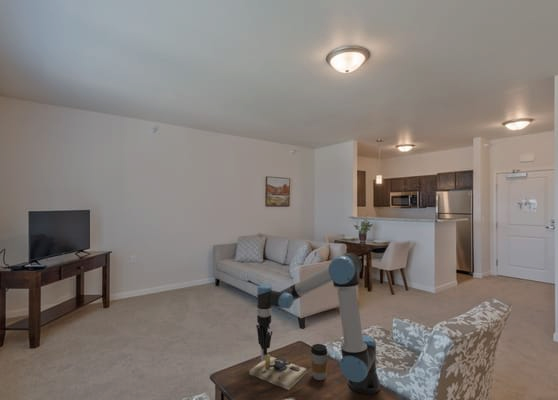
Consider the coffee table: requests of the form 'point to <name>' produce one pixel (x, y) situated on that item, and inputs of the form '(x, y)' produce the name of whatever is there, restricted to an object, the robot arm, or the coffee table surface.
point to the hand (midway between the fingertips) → (263, 359)
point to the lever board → (279, 374)
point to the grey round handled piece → (279, 363)
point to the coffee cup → (319, 361)
